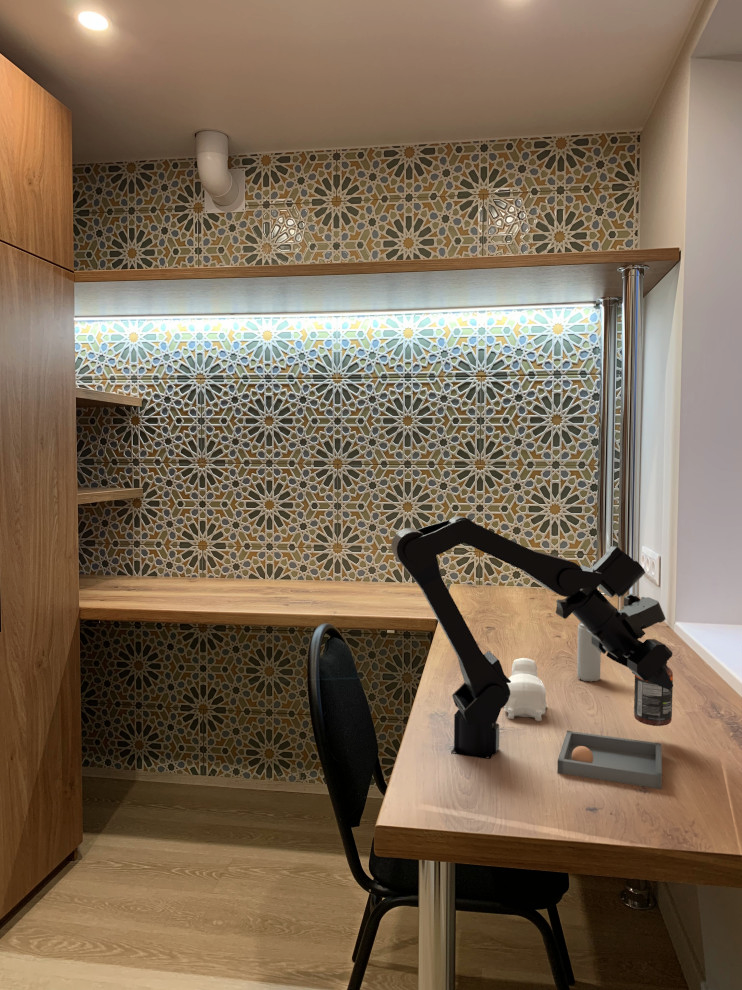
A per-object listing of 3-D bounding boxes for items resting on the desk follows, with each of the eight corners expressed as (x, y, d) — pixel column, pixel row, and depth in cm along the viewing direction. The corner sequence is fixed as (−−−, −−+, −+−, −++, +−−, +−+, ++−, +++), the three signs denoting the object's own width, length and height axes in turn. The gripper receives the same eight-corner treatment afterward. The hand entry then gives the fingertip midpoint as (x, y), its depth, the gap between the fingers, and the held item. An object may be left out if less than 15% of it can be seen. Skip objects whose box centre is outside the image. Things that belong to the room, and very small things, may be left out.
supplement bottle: (640, 711, 126) (642, 647, 125) (676, 720, 122) (678, 653, 121) (628, 721, 121) (630, 654, 121) (664, 730, 117) (667, 661, 117)
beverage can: (584, 674, 161) (585, 620, 160) (604, 679, 157) (605, 624, 157) (572, 678, 157) (573, 624, 157) (593, 683, 154) (594, 627, 153)
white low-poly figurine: (548, 738, 132) (545, 684, 146) (549, 701, 129) (546, 650, 142) (500, 734, 134) (502, 681, 147) (500, 698, 131) (502, 647, 144)
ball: (570, 769, 111) (570, 749, 110) (572, 761, 114) (572, 741, 113) (592, 773, 110) (592, 752, 109) (593, 764, 112) (594, 744, 112)
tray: (557, 776, 110) (557, 760, 110) (566, 745, 121) (567, 730, 121) (661, 792, 104) (661, 775, 104) (660, 758, 116) (661, 743, 116)
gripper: (662, 593, 111) (727, 663, 112) (610, 573, 129) (667, 633, 131) (610, 645, 110) (677, 714, 112) (566, 617, 129) (624, 677, 131)
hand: (661, 681), depth 121 cm, fingers closed on supplement bottle, 6 cm apart
